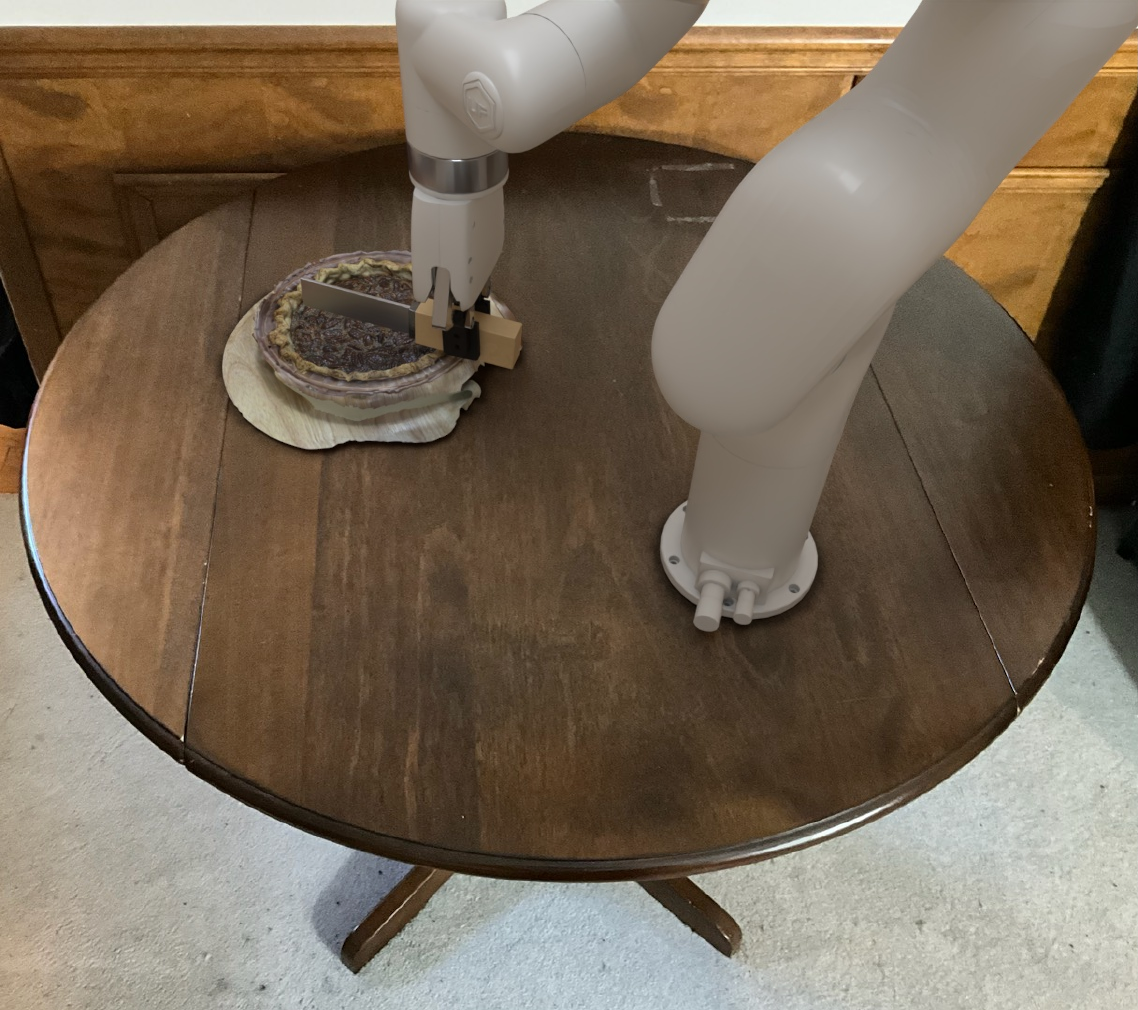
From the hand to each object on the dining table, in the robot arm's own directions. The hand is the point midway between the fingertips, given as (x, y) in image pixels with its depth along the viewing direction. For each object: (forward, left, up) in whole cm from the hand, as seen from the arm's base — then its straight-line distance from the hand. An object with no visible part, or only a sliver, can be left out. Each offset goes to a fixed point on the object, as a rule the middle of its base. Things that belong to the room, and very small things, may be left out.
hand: (467, 343), depth 92 cm
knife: (0, +5, 0) cm, 5 cm away
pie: (+3, +10, -6) cm, 12 cm away
